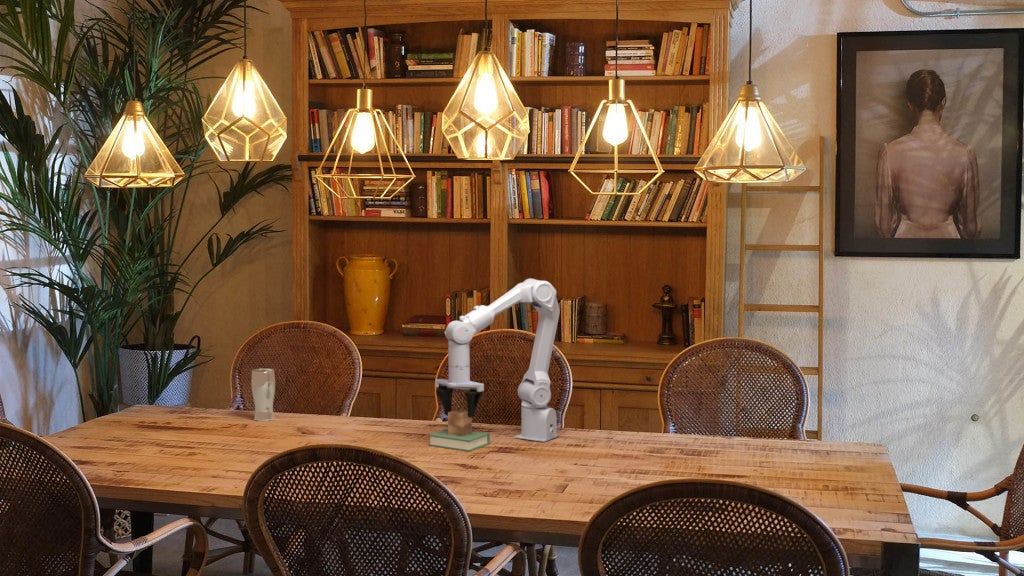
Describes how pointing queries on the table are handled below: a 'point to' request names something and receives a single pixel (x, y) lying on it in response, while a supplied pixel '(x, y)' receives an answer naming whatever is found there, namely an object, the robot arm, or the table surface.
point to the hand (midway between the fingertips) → (459, 415)
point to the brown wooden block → (459, 423)
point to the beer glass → (263, 393)
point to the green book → (459, 440)
